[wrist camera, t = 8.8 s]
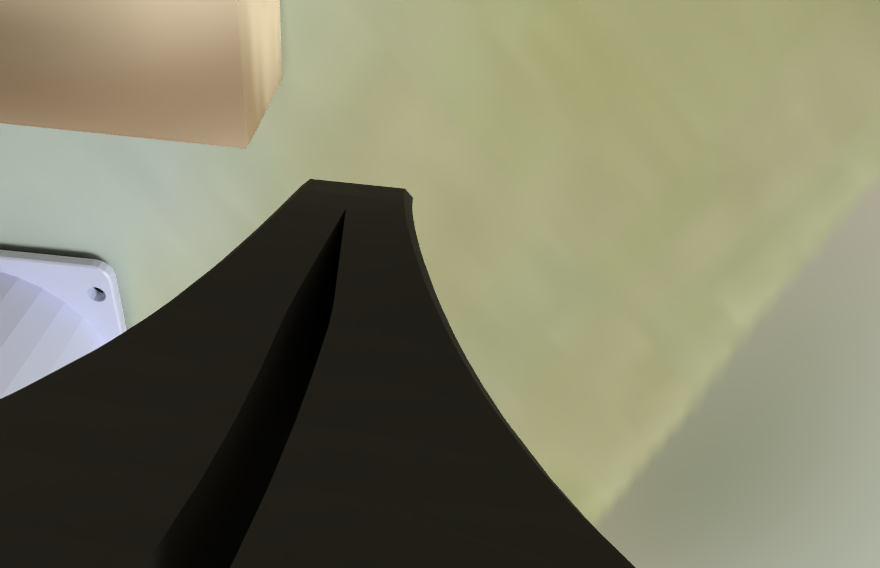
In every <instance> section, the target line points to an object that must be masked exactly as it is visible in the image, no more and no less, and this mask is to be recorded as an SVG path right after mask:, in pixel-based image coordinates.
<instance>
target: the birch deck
mask: <svg viewBox="0 0 880 568" xmlns="http://www.w3.org/2000/svg"><path fill="white" fill-rule="evenodd" d="M281 81H282V57H281V27H280V0H0V123H5V124H14V125H24V126H34V127H43V128H53V129H63V130H72V131H82V132H92V133H101V134H111V135H121V136H130V137H140V138H150V139H159V140H169V141H179V142H188V143H198V144H208V145H217V146H227V147H237V148H246V149H247V147H248V145H249V143H250V141H251V139H252V137H253V135H254V134H255V132H256V130H257V128H258V126H259V124H260V122H261V120H262V118H263V116H264V114H265V112H266V110H267V108H268V106H269V104H270V102H271V100H272V98H273V96H274V94H275V93H276V91H277V89H278V87H279V85H280V83H281Z"/></svg>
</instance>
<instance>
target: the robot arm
mask: <svg viewBox="0 0 880 568" xmlns="http://www.w3.org/2000/svg"><path fill="white" fill-rule="evenodd" d="M412 201H413V198H412V196H411V195H410V194H409V193H408V192H407V191H406V189H402V188H392V187H382V186H373V185H363V184H353V183H343V182H334V181H324V180H314V179H310V180H308V181H307V182H306V183H305V184H303V185H302V186H301V187H300V188H299V189H298V190H297V191H296V192H295V193H294V194H293V195H292V196H291V197H290V198H289V199H288V200H287V201H286V202H285V203H284V204H283V205H282V206H281V207H280V208H279V209H278V210H277V211H276V212H274V213H273V214H272V215H271V216H270V217H269V218H268V219H267V220H266V221H265V222H264V223H263V224H262V225H261V226H260V227H259V228H258V229H257V230H256V231H254V232H253V233H252V234H251V235H250V236H249V237H248V238H247V239H245V240H244V241H243V242H242V243H241V244H240V245H239V246H238V247H237V248H235V249H234V250H233V251H232V252H231V253H230V254H229V255H228V256H226V257H225V258H224V259H223V260H222V261H221V262H219V263H218V264H217V265H216V266H215V267H213V268H212V269H211V270H210V271H208V272H207V273H206V274H205V275H203V276H202V277H201V278H199V279H198V280H197V281H196V282H194V283H193V284H192V285H191V286H189V287H188V288H187V289H185V290H184V291H183V292H182V293H180V294H179V295H178V296H177V297H175V298H174V299H173V300H171V301H170V302H169V303H167V304H166V305H164V306H163V307H162V308H160V309H159V310H157V311H156V312H154V313H153V314H152V315H150V316H149V317H147V318H146V319H144V320H143V321H141V322H139V323H138V324H136V325H135V326H133V327H131V328H130V329H128V330H126V325H125V320H124V314H123V309H122V304H121V299H120V294H119V289H118V284H117V279H116V275H115V272H114V270H113V269H112V268H111V267H110V266H109V265H108V264H106V263H105V262H103V261H100V260H96V259H87V258H77V257H67V256H57V255H48V254H38V253H28V252H18V251H8V250H0V568H635V567H634V566H633V565H632V564H631V563H630V562H629V561H628V560H627V559H626V558H625V557H624V556H623V555H622V554H621V553H620V552H619V551H618V550H617V549H616V548H615V547H614V546H613V545H612V544H611V543H610V542H609V541H608V540H606V539H605V538H604V537H603V536H602V535H601V534H600V533H599V532H598V530H597V529H596V528H595V527H594V526H593V525H592V524H591V523H590V522H589V521H588V520H587V519H586V518H585V517H584V516H583V515H582V514H581V512H580V511H579V510H578V509H577V508H576V507H575V506H574V504H573V503H572V502H571V501H570V500H569V499H568V498H567V497H566V495H565V494H564V493H563V492H562V491H561V490H560V489H559V487H558V486H557V485H556V484H555V483H554V482H553V481H552V480H551V478H550V477H549V476H548V475H547V473H546V472H545V471H544V469H543V468H542V467H541V466H540V464H539V463H538V462H537V460H536V459H535V458H534V456H533V455H532V454H531V453H530V451H529V450H528V449H527V447H526V446H525V445H524V443H523V442H522V441H521V440H520V438H519V437H518V436H517V434H516V433H515V432H514V431H513V429H512V428H511V427H510V425H509V424H508V423H507V421H506V420H505V419H504V417H503V416H502V414H501V413H500V411H499V410H498V408H497V407H496V405H495V404H494V402H493V401H492V399H491V397H490V396H489V394H488V393H487V391H486V390H485V388H484V387H483V385H482V383H481V382H480V380H479V378H478V377H477V375H476V373H475V372H474V370H473V368H472V367H471V365H470V363H469V362H468V360H467V358H466V356H465V354H464V352H463V351H462V349H461V347H460V345H459V343H458V341H457V339H456V337H455V335H454V333H453V331H452V329H451V327H450V325H449V323H448V320H447V318H446V316H445V314H444V312H443V310H442V308H441V305H440V303H439V300H438V298H437V296H436V293H435V291H434V288H433V285H432V283H431V280H430V277H429V274H428V271H427V269H426V266H425V263H424V260H423V257H422V254H421V251H420V247H419V243H418V239H417V235H416V231H415V227H414V221H413V214H412ZM94 287H96V288H100V289H101V290H102V291H104V293H101V292H98V291H97V290H96V289H94Z"/></svg>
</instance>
